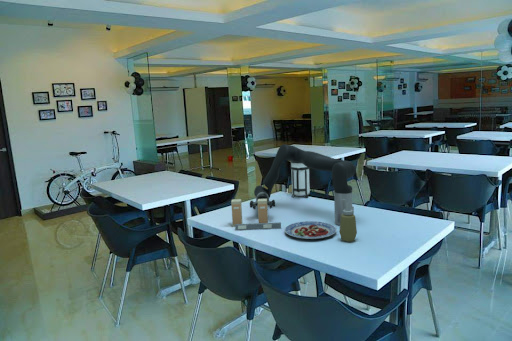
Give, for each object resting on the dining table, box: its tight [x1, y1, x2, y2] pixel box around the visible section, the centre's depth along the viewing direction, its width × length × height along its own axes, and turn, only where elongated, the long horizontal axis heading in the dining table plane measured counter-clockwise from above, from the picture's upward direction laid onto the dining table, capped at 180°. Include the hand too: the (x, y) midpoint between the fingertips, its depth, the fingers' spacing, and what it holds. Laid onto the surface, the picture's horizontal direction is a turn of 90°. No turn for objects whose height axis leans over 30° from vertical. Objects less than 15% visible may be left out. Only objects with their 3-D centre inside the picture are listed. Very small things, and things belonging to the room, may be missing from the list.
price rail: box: [234, 221, 282, 231], centre depth 208 cm, size 24×1×3 cm, turn 89°
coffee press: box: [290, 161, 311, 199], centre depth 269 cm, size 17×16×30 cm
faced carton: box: [230, 198, 243, 228], centre depth 215 cm, size 5×5×14 cm
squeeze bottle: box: [339, 203, 358, 243], centre depth 185 cm, size 8×8×18 cm
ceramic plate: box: [284, 220, 337, 240], centre depth 199 cm, size 26×26×3 cm
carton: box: [257, 199, 269, 223], centre depth 213 cm, size 5×5×14 cm
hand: (262, 207), depth 217 cm, fingers open, 8 cm apart
